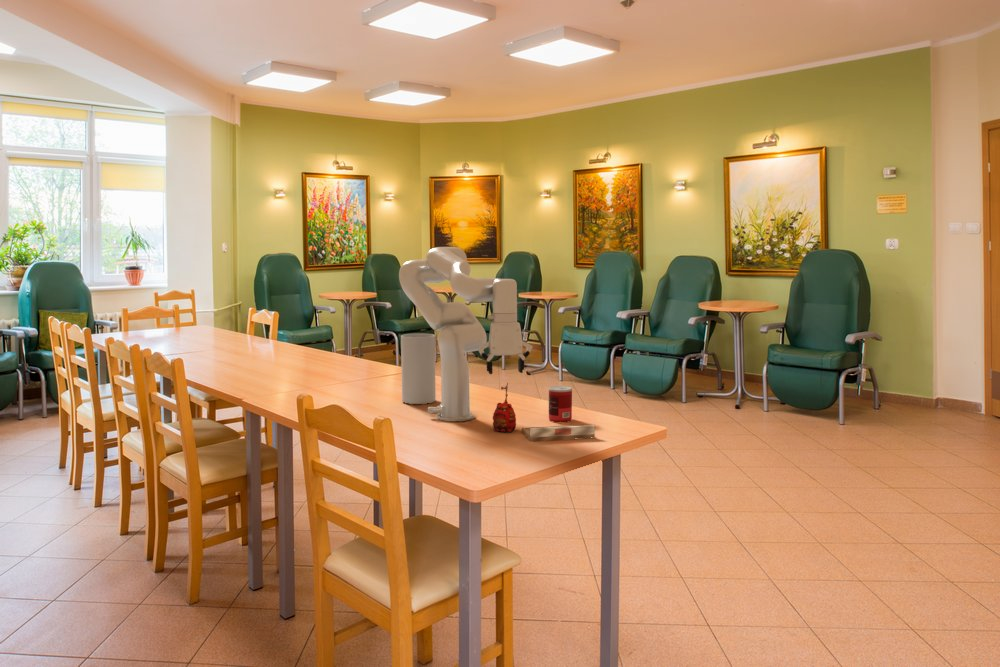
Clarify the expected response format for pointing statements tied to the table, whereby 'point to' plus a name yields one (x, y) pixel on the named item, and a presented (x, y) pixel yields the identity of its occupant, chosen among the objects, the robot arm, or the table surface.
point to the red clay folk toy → (504, 416)
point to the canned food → (560, 403)
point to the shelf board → (559, 432)
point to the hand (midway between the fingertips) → (505, 372)
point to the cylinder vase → (418, 368)
